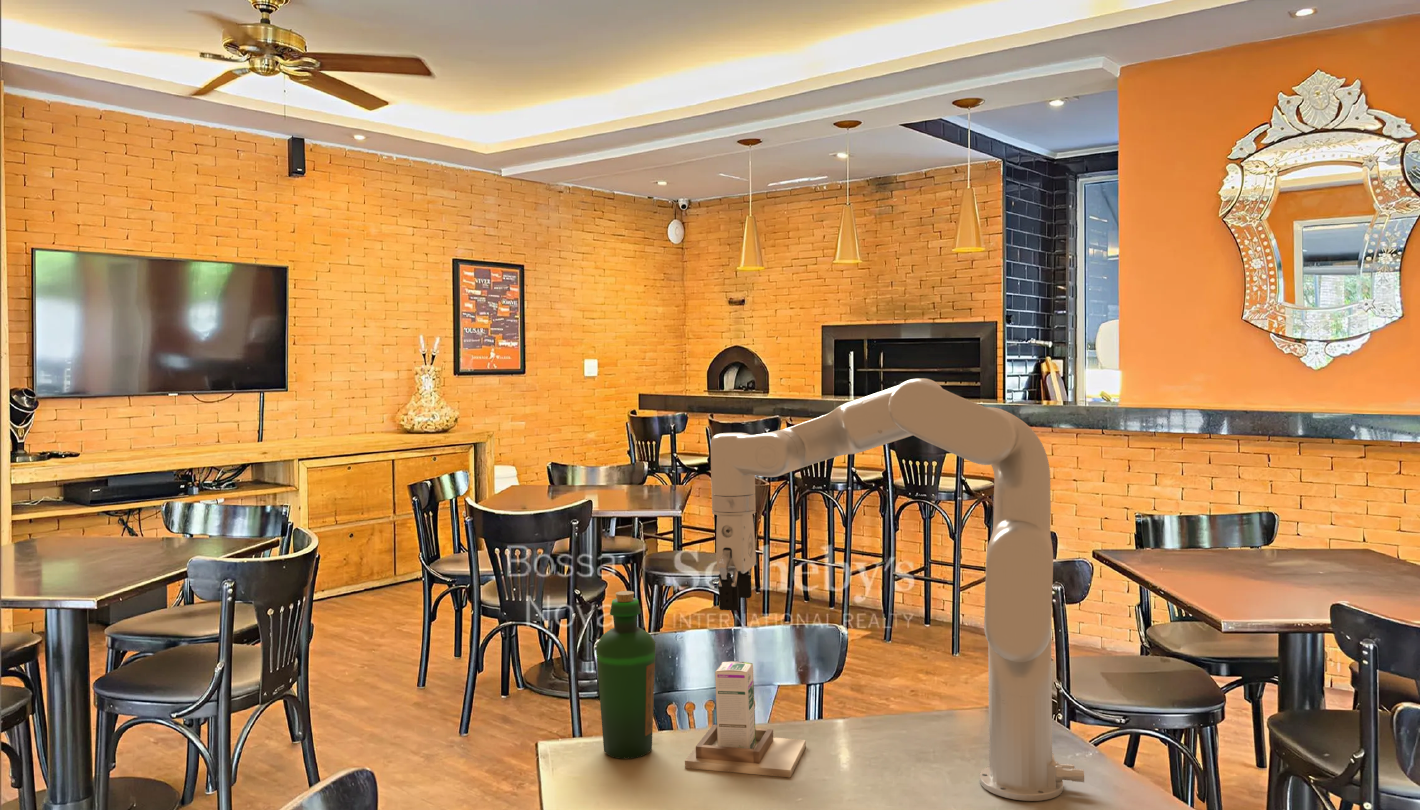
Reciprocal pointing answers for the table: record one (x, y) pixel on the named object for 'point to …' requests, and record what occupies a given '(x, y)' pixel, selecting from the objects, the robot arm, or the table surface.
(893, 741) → the table surface
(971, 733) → the table surface
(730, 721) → the syrup box
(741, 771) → the stand board
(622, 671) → the bottle
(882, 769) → the table surface
